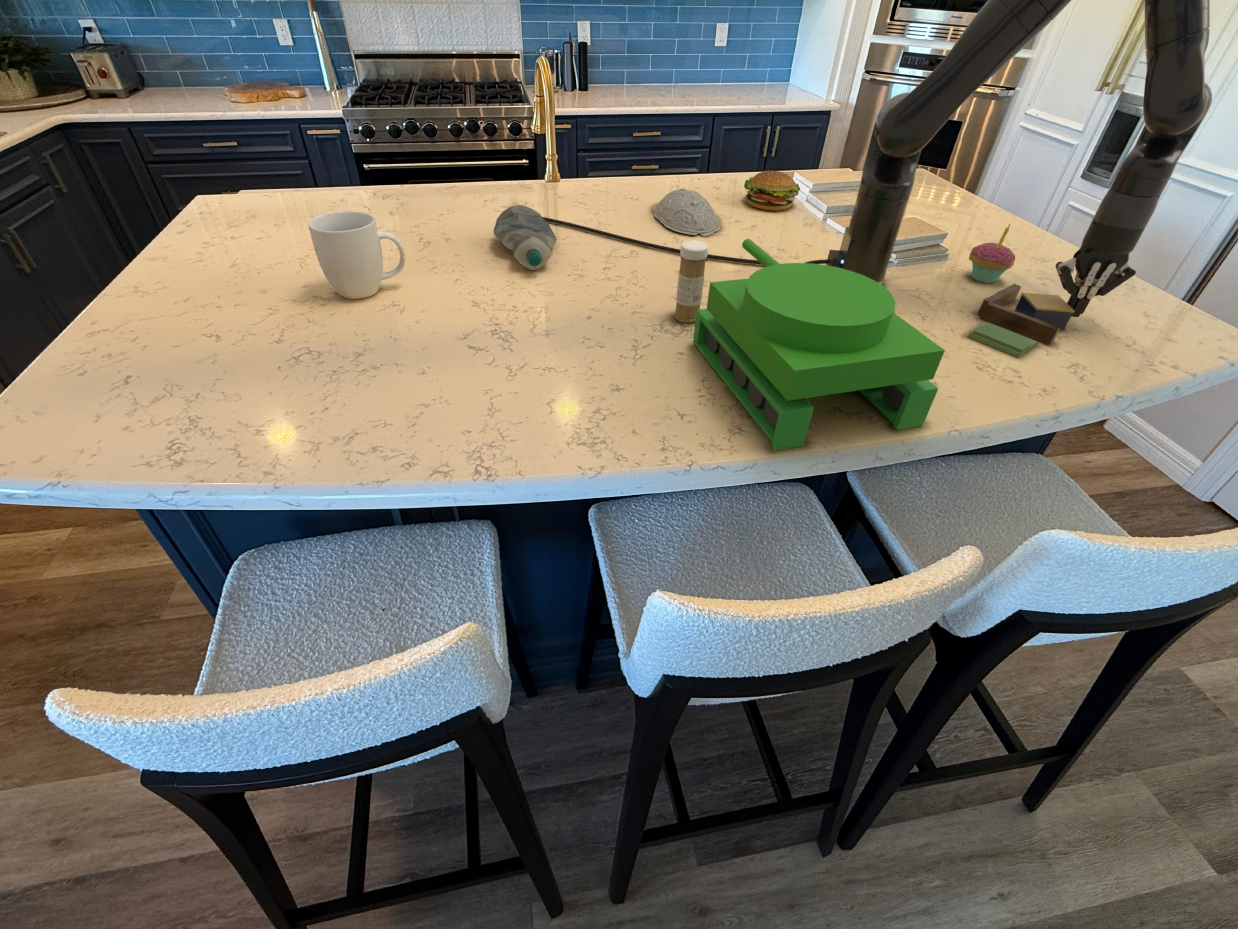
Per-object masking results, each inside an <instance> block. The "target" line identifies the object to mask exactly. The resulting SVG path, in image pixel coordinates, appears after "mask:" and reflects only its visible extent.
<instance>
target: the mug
mask: <svg viewBox="0 0 1238 929" xmlns="http://www.w3.org/2000/svg"><path fill="white" fill-rule="evenodd" d="M307 226H308V230H309V234H310V237H311V241H312V245H313V248H314V252H315V255H316V258H317V262H318V263H319V267H320V268H321V270H322V273H323V275H324V276H325V278H326V280H327V281H328V282H329V284H330V286H331V287H332V288H333V289H334V290H335V291H336V292H337V294H339V295H340V296H341V297H343V298H344V299H345V298H346V299H349V300H360V299H366V298H370V297H372V296H373V295H375V294H376V293H378V291H379V288H380V286H381V282H382V281H384V280H388V279H390V278H393V277H395V276H397V275H398V274H400V273H401V272H402V271H403V269H404V267H405V264H406V251H405V248H404V246H403V244H402V242H401V240H400V239H399V238H398V237H397V236H396V235H394V234H393V233H391V232H388V231H383V230H382V231H379V230H378V226H377V221H376V218H375V216H374V215H373V214H371V213H368V212H364V211H360V210H337V211H329V212H326V213H322V214H318V215H315V216H313V217H311V219H310V220H309V221H308V223H307ZM385 239H386V240H390V241H392V242H393V243H394V244H395V245H396V247H397V249H398V251H399V262H398V265H397V266H396V267H395V268H394V269H392V270H391V271H388V272H383V270H384V261H383V252H382V245H381V240H385Z"/></svg>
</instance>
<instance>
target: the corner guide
mask: <svg viewBox="0 0 1238 929" xmlns="http://www.w3.org/2000/svg"><path fill="white" fill-rule="evenodd" d="M1021 288H1022V285H1019V284H1017V283H1013V284H1010V285H1008V286H1007V287H1005V288H1003V289H1001V290H999V291H998V292H995V293H993V294H992V295H990V296H988V297H986V298H984V299H982V302H981V305H980V307H979V309H978V312H977V315H978V316H980V320H983V321H984V322H985V321H986V322H988V323H991V324H994V325H996V326H999V327H1001V328H1004V329H1006V330H1009V331H1012V332H1014V333H1017V334H1019V335H1022V336H1025V337H1027V338H1030V339H1032V340H1035V341H1037V342H1040V343H1042V344H1045V345H1047V346H1051V345H1052V344H1054V342H1055V340H1056V338H1057V336H1058V334H1059V332H1060V331H1061V330H1060V329H1061V328H1060V327H1058V326H1055V325H1052V324H1049V323H1047V322H1044V321H1041V320H1039V319H1036V318H1033V317H1030V316H1028V315H1025V314H1022V313H1020V312H1017V311H1014V310H1015V309H1012V308H1008V307H1007V306H1008V305H1009V304H1011V303H1014V302H1015V301H1016V300H1017V297H1018V295H1019V293H1020V291H1021Z"/></svg>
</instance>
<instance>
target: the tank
mask: <svg viewBox="0 0 1238 929" xmlns="http://www.w3.org/2000/svg"><path fill="white" fill-rule="evenodd" d="M741 247H742V248H743V249H744V250H745V251H746V252H747V253H748V254H750V255H751V256H752V257H753V258H754V260H758V261H759V262H760V263H761V264H762V265H761V266H764V267H762V268H759V269H757V270H755V271H754V272H753V273H752V274H750V275H749V277H748V278H740V279H739V278H738V279H728V280H720V281H719V280H717V281H710V282H709V288H708V296H707V303H706V308H700V309H699V310H697V313H696V321H695V322H694V330H693V338H692V343H693V345H694V346H695V347H696V348H697V350H698V351H699V352H700V353H701V355H702V357H704V358H705V360H706V361H707V362H708V363H709V365H710V366H711V368H713V370H714V371H715V372H716V374H717V375H718V376H719V377H720V380H722V381H723V383H724V384H725V385H726V386H727V388H728V389H729V390H730V391H731V393H732V394H733V395H734V397H735V398H736V399H737V401H738V402H739V403H740V404H741V406H742V407H743V408H744V409H745V411H746V412H747V413H748V414H749V416H750V417H751V418H752V420H753V421H754V422H755V423H756V425H757V426H758V427H759V428H760V430H761V431H762V432H763V433H764V435H765V436H766V437H767V438H768V440H769V442H771V446H770V447H771V449H772V450H773V451H774V452H777V451H783V450H789V449H795V448H800V447H804V444H805V441H806V439H807V435H808V430H809V428H810V423H811V419H812V417H813V413H814V410H815V407H814V406H813V404H812V403H811V402H810V401H809V400H808V399H809V398H814V397H815V398H816V397H822V396H823V397H824V396H829V395H835V394H843V393H849V392H857V391H858V392H859V393H860V394H861V395H863V397H864V398H865V399H867V400H868V401H869V402H870V403H871V404H872V405H873V406H874V407H875V408H876V409H877V410H878V411H879V412H880V413H881V414H883V415H884V417H886V418H887V419H888V420H889V421H890V422H891V423H892V428H893V429H894V430H895V431H901V430H906V429H907V430H908V429H913V428H919V427H923V426H924V424H925V422H926V419H927V416H928V415H929V412H930V409H931V407H932V405H933V403H934V400H935V398H936V395H937V394H938V391H939V387H938V386H937V385H935V384H934V383H932V382H931V381H932V380H934V378H935V375H936V373H937V371H938V369H939V366H940V364H941V361H942V359H943V356H944V354H945V352H946V350H945V349H944V348H943V347H941V346H940V345H938V344H937V343H936V342H935V341H933V340H932V339H930V338H929V337H928V336H926V335H925V334H923V333H922V332H921V331H920V330H918V329H917V328H916V327H914V326H913V325H911V324H910V323H909V322H907V321H906V320H904V319H903V318H902V317H900V316H899V315H898V314H896V313H895V309H896V304H897V302H896V300H895V297H894V295H893V294H892V293H891V292H890V290H888V289H887V288H886V287H885V286H883V284H882V285H881V284H879V283H877V282H876V281H874V280H872V279H870V278H868V277H866V276H864V275H861V274H858V273H855V272H852V271H849V270H845V269H842V268H838V267H833V266H827V265H826V264H811V263H805V262H788V263H787V262H786V263H780V262H779V261H777V260H776V259H774V258H773V257H772V256H771V255H770V254H769V253H767V252H766V251H765V250H764V249H763V248H762V247H760V246H759V245H758V244H757V243H755V241H753V240H751V239H750V238H746V239H744V240H743V241H742V244H741ZM930 380H931V381H930Z"/></svg>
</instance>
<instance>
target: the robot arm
mask: <svg viewBox="0 0 1238 929" xmlns="http://www.w3.org/2000/svg"><path fill="white" fill-rule="evenodd" d="M1071 2H1072V0H987V1H986V2H985V3H984V5H983V6H981V8H980V9H979V10H978V11H977V13H976V14H975V15H974V17H973V18H972V19H971V21H970V22H969V24H968V25H967V26H966V27H965V29H964V30H963V32H962V33H961V35H960V36H959V38H958V39H957V40H956V42H955V43H954V45H953V46H952V47H951V49H950V50H949V52H948V53H947V55H945V57H944V58H943V60H942V61H941V62H940V63H939V64H938V65H937V66H936V67H935V68H934V69H933V71H931V72H930V73H929V74H928V75H927V76H926V77H925V78H924V79H923V80H922V81H921V82H920V83H919V84H918V85H917V86H915V87H914V89H912V90H911V91H910V92H902V93H899V94H896V95H895V96H892V97H891V98H889V99H888V100H887V101H886V102H885V103H884V104H883V105H882V107H881V108H880V109H879V111H878V113H877V116H876V118H875V122H874V125H873V129H872V132H871V136H870V139H869V143H868V144H869V145H868V148H867V152H866V156H865V159H864V164H863V168H862V174H861V179H860V184H859V188H858V191H857V194H856V198H855V203H854V207H853V210H852V214H851V218H850V221H849V225H848V226H846V227H845V229H844V233H843V236H842V239H841V242H840V243H841V244H840V247H839V249H829V250H828V255H827V259H815V260H808V261H806V262H804V263H811V264H820V265H827V266H833V267H838V268H842V269H845V270H849V271H852V272H855V273H858V274H861V275H864V276H866V277H868V278H870V279H872V280H874V281H876V282H877V283H879V284H881V285H882V286H883V284H884V281H885V277H886V273H887V269H888V266H889V263H890V260H891V257H892V255H893V251H894V248H895V245H896V242H897V238H898V235H899V231H900V229H901V226H902V223H903V219H904V216H905V213H906V210H907V207H908V204H909V201H910V197H911V194H912V191H913V188H914V184H915V178H916V173H917V167H918V163H919V159H920V157H921V153H922V149H924V148H925V147H926V146H927V145H928V144H929V143H930V142H931V140H933V138H934V137H935V136H936V134H937V133H939V131H940V130H941V129H942V128H943V127H944V126H945V124H946V123H947V122H948V121H949V120H950V118H952V116H953V115H954V114H955V113H956V112H957V111H958V109H960V107H961V106H963V104H964V103H965V102H966V101H967V100H968V99H969V98H970V97H971V96H972V95H973V94H974V93H975V92H976V91H977V90H979V89H980V87H982V86H983V85H984V84H986V83H987V82H988V81H989V80H990V79H991V78H992V77H994V76H995V75H996V74H997V73H998V72H999V71H1000V70H1002V68H1003V67H1004V66H1006V65H1007V63H1009V62H1010V61H1011V60H1012V59H1013V58H1014V57H1016V55H1017V54H1019V53H1020V52H1021V51H1022V50H1023V49H1024V48H1025V47H1026V46H1027V45H1029V43H1031V41H1033V40H1034V39H1035V37H1037V36H1038V35H1039V34H1040V33H1041V32H1042V31H1043V30H1044V29H1045V28H1046V27H1047V26H1048V25H1049V24H1051V22H1052V21H1053V20H1055V18H1057V16H1058V15H1059V14H1060V13H1061V12H1062V11H1063V10H1064V9H1065V8H1066V7H1067V6H1068V5H1069V4H1070V3H1071ZM1210 2H1211V1H1210V0H1144V48H1145V59H1146V60H1145V61H1146V73H1145V80H1144V89H1143V90H1144V91H1143V100H1142V101H1143V102H1142V104H1143V106H1142V107H1143V108H1142V113H1143V114H1142V115H1143V122H1144V125H1143V128H1142V130H1141V132H1140V134H1139V136H1138V138H1137V140H1136V143H1135V145H1134V146H1133V148H1132V149H1131V151H1130V152H1128V154H1127V155H1126V157H1125V158H1124V159H1123V161H1122V163H1121V165H1120V166H1119V168H1118V171H1117V173H1116V175H1115V177H1114V179H1113V181H1112V183H1111V185H1110V187H1109V188H1108V191H1107V192H1106V194H1105V195H1104V196H1103V198H1102V200H1101V202H1100V203H1099V205H1098V208H1097V210H1096V212H1095V214H1094V216H1093V218H1092V220H1091V222H1090V224H1089V225H1088V228H1087V230H1086V232H1085V234H1084V236H1083V239H1082V242H1081V245H1080V247H1079V249H1078V250H1077V251H1076V252H1075V253H1074V254H1073V256H1072V258H1070V259H1068V260H1066V261H1064V262H1063V261H1058V262H1056V263H1055V269H1056V271H1057V275H1058V278H1059V280H1060V284H1061V287H1062V289H1063V290H1065V291H1066V292H1067V293H1068V294H1069V295H1070V296H1069V298H1068V300H1067V302H1066V303H1067V304H1068V305H1069V306H1070V307H1071V308H1072V309H1073V310H1075V312H1074V313H1073V314H1072V316H1071V318H1079V317H1080V316H1081V315H1083V314H1084V313H1085V311H1086V309H1087V308H1088V305H1089V304H1090V302H1091V300H1092V299H1093V298H1095V297H1098V296H1100V297H1104V296H1106V295H1107V294H1109V293H1110V292H1111V291H1113V290H1115V289H1116V288H1118V287H1119V286H1120V285H1123V284H1124V283H1125V282H1126V281H1128V280H1130V279H1131V278H1132V277H1134V276H1135V275H1136V273H1137V271H1136V270H1135V269H1133V268H1132V267H1131V266H1130V265H1129V264H1128V262H1129V261H1130V253H1132V252H1133V251H1134V250H1135V248H1136V247H1137V244H1138V243H1139V240H1140V238H1141V236H1142V234H1143V233H1144V232H1145V229H1146V227H1147V225H1148V224H1149V221H1150V220H1151V218H1152V216H1153V214H1154V212H1155V210H1156V208H1157V206H1158V203H1159V200H1160V198H1161V196H1162V194H1163V192H1164V191H1165V188H1166V187H1167V185H1168V183H1169V181H1170V179H1171V178H1172V175H1173V173H1174V171H1175V168H1176V167H1177V164H1178V163H1179V160H1180V158H1181V157H1182V155H1183V153H1184V152H1185V150H1186V148H1187V147H1188V145H1189V144H1190V142H1191V140H1192V139H1193V137H1194V136H1195V134H1196V132H1197V131H1198V130H1199V127H1200V126H1201V124H1202V122H1203V121H1204V119H1205V118H1206V117H1207V116H1206V115H1207V114H1208V112H1209V109H1210V108H1211V105H1212V101H1213V92H1212V89H1211V87H1210V86H1209V85H1208V83H1206V80H1205V79H1206V78H1205V76H1206V73H1205V71H1206V70H1205V55H1206V51H1207V49H1208V46H1209V42H1210V25H1211V23H1210V20H1211V18H1210V14H1211V13H1210V10H1211V9H1210V8H1211V7H1210V6H1211V5H1210V4H1211V3H1210ZM542 217H543V219H544V220H545V221H547V223H553V224H557V225H561V226H565V227H569V228H574V229H577V230H581V231H585V232H589V233H594V234H596V235H601V236H604V237H608V238H612V239H615V240H620V241H623V242H626V243H631V244H635V245H639V246H643V247H648V248H651V249H656V250H661V251H666V252H670V253H674V254H680V250H681V248H674V247H670V246H665V245H660V244H655V243H651V242H646V241H643V240H639V239H635V238H631V237H627V236H623V235H619V234H614V233H611V232H607V231H603V230H599V229H596V228H592V227H588V226H584V225H581V224H576V223H572V222H568V221H564V220H559V219H556V218H555V219H554V218H552V217H551V218H550V217H547V216H542ZM706 259H711V260H717V261H723V262H731V263H741V264H750V265H760V266H763V265H762V264H761V263H760V262H759V261H758V260H757V259H749V258H739V257H731V256H724V255H716V254H709V253H708V254H707V258H706ZM1074 270H1075V271H1076V273H1075V276H1074V278H1073V276H1072V274H1074Z"/></svg>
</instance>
